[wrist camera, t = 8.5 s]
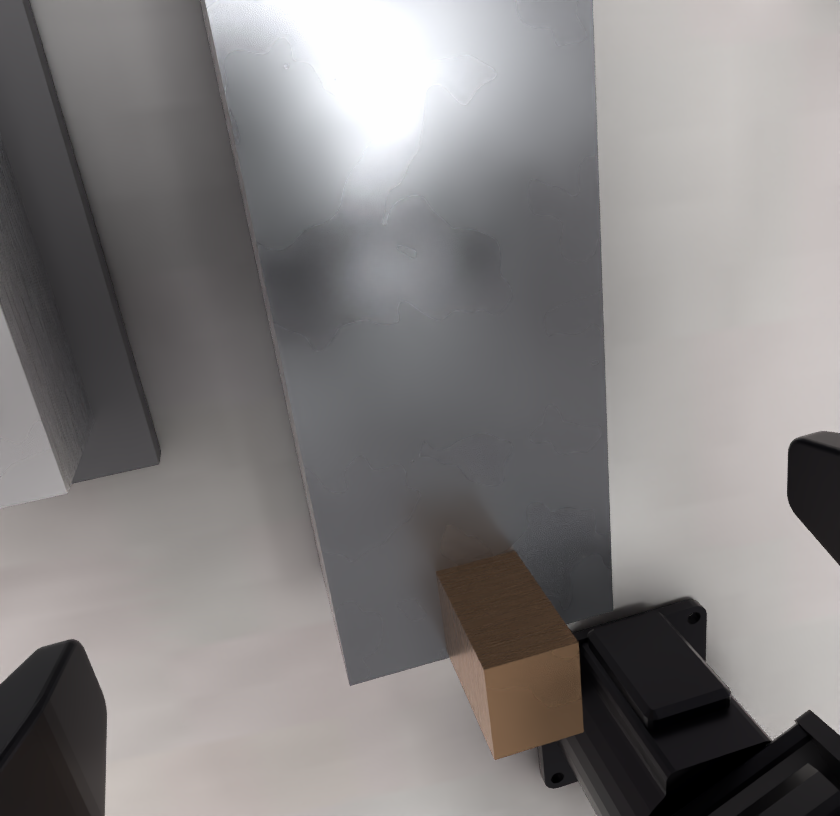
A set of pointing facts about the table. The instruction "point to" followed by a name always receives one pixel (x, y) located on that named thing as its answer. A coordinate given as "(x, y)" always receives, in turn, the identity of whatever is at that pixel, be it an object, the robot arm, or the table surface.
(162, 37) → the table surface
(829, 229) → the table surface
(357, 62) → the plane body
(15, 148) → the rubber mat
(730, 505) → the table surface
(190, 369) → the table surface
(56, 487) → the grey rectangular block
